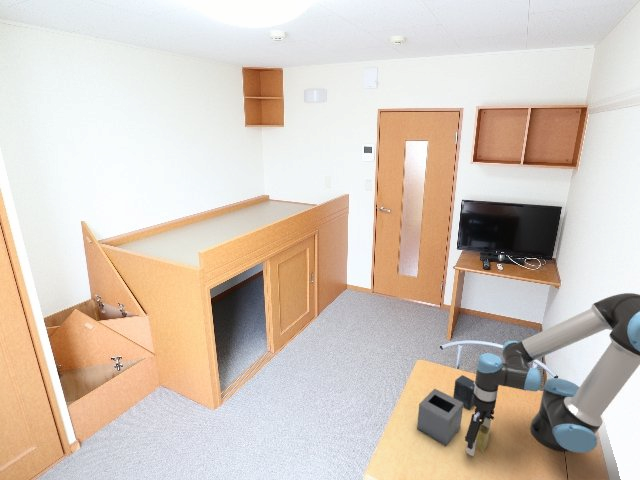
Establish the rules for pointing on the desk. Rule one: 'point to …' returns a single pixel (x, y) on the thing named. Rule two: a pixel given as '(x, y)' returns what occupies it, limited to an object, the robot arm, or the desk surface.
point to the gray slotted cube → (440, 416)
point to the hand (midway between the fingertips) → (477, 442)
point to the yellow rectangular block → (482, 438)
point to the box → (464, 391)
